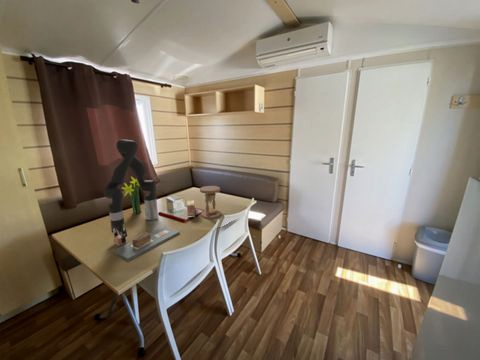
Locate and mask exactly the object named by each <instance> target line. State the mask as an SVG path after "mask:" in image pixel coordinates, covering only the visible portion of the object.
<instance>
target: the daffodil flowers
mask: <svg viewBox="0 0 480 360" xmlns="http://www.w3.org/2000/svg"><path fill="white" fill-rule="evenodd" d="M130 178H131V180H132V181H129V183H130V185H129V186H128V184H127V183H126V182H123V184H124V186H125V187H121V190H124V192H125V194H124V195H123V197H126V196H127V194H128V195H129V198H130V202H131V205H132V213H133V216H134V215H136V214H140V213H142V209H141V205H140V204H141V203H140V194H139V193H140V190H139V189H140V186H139V183H138V181H137V179H136V178H134V177H133V176H132V175H131V176H130Z"/></svg>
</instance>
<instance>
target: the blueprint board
mask: <svg viewBox="0 0 480 360" xmlns="http://www.w3.org/2000/svg"><path fill="white" fill-rule="evenodd" d="M149 233H150V236H151V240H150V241H149V242H147V243H146V244H144V245H143V246H141V247H140V248H137V247H133V243H132V241H130V242H128V243H125V244H123V245H120V246H118V247H117V248H115V249H113V253H114V254H116V255H117V256H120V257H121V258H122V259H124V260H127V261H128V262H129V261H130V260H132V259H134V258H136V257H139V256H140V255H142V254H144V253H146V252H148V251H150V250H152V249H153V248H155V247H157V246H159V245H160V244H163V243H164V242H166V241H169V240H170V239H172V238H174V237H175V236H178V235H180V234H181V233H180V231H179V230H176V229H173V228H171V227H167V226H163V227H160V228H158V229H157V230H155V231H152V232H149Z"/></svg>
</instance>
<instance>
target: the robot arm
mask: <svg viewBox="0 0 480 360" xmlns="http://www.w3.org/2000/svg"><path fill="white" fill-rule="evenodd" d="M116 149H117V152H118V153H119V154H120V156H121V157H122V158H123V159H122V160H121V162H120V163H119V164H118V165H117V166H115V168H114V170H113V173H112V176H111V179H110V181H109V182H108V183H107V185H106V186H105V188H104V190H103V191H104V193H103V194H104V196H105V198H106V199H110V200H111V202H110V203H109V204H108V212H109V220H110V227H111V228H110V229H111V230H110V231H111V233H112V234H113V236H114V237H116V236H118V235H120V236H121V241H122V243H124V242H126V243H127V237H128V232H127V228H126V227H123V226H124V225H125V217H124V212H123V207H122V205H123V204H122V203H123V197H124V195H123V191H122V188H118V187H119V186H121V185H123V184H124V183H125V179H126V176H127V172H128V170H129V169H130V171H131V172H132V174H133V175H134V177H135V179H137V181H138V183H139V189H140V190H141V191H143V192H149V194H146V195H145V196H144V197H143V198H144V199H143V201H144V212H145V219H146V220H147V221H154V220H157V219H159V211H158V201H157V183H156V181H155V180H153V179H149V180H147V179H144V177H145V175H146V171H147V169H146V166H145V165H144V163H143V162H142V161H141V160H140V159H139V158H138V157H137V156H136V154H137V152H138V143H137V141H134V140H131V139H130V140H129V139H119V140H117V142H116ZM114 237H113V238H114ZM125 237H126V239H125Z"/></svg>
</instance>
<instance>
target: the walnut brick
mask: <svg viewBox="0 0 480 360" xmlns="http://www.w3.org/2000/svg"><path fill="white" fill-rule="evenodd" d="M150 233H151V232H145V231H144V232H142V233H140V234H139V235H137V236H135V237H133V238H131V240H132V241H131V242H132V243H133V247H137V248H140V247H141V246H143V245H144V244H146V243H147V242H149V241H150V240H151V236H150Z"/></svg>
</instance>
